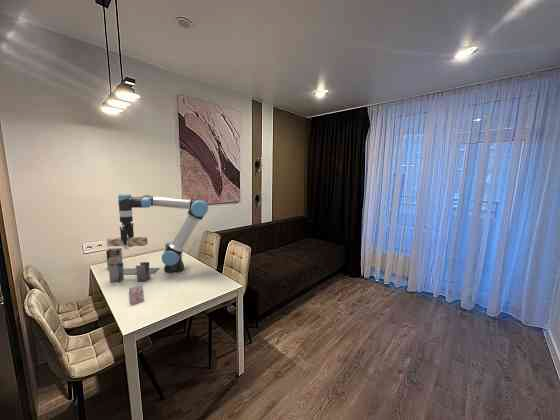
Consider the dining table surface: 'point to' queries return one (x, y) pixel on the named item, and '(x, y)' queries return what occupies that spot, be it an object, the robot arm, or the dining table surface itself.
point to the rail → (131, 241)
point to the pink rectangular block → (136, 294)
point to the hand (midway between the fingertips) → (128, 248)
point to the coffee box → (114, 256)
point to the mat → (133, 271)
